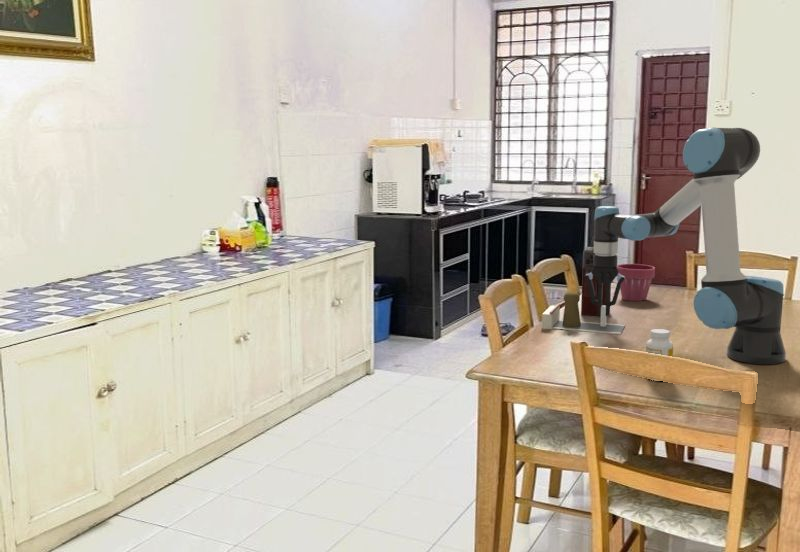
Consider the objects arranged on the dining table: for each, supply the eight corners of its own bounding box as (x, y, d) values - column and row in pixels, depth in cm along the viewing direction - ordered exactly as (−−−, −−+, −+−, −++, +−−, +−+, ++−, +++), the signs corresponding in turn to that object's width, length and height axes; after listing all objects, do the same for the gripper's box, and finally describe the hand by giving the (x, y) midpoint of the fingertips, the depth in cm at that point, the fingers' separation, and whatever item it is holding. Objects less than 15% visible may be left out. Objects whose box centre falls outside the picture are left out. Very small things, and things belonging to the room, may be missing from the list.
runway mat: (620, 334, 251) (620, 333, 251) (551, 328, 260) (551, 327, 260) (625, 326, 262) (625, 325, 262) (558, 320, 271) (558, 319, 271)
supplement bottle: (666, 374, 209) (668, 327, 207) (675, 382, 203) (678, 333, 200) (641, 375, 209) (643, 328, 207) (649, 383, 202) (652, 334, 200)
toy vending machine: (580, 317, 276) (582, 237, 271) (584, 310, 286) (586, 233, 281) (606, 318, 273) (609, 238, 268) (609, 311, 283) (612, 234, 278)
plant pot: (657, 297, 307) (659, 265, 305) (648, 304, 295) (649, 270, 293) (621, 294, 315) (622, 262, 312) (610, 300, 303) (611, 267, 301)
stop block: (551, 329, 259) (551, 312, 258) (541, 328, 260) (542, 311, 259) (559, 320, 272) (559, 303, 271) (550, 319, 273) (551, 303, 272)
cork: (560, 326, 262) (560, 293, 260) (564, 322, 267) (565, 290, 265) (578, 327, 259) (578, 295, 257) (582, 323, 264) (583, 291, 262)
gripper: (627, 253, 256) (625, 324, 260) (586, 251, 261) (585, 321, 265) (624, 256, 249) (622, 329, 253) (583, 255, 254) (581, 326, 258)
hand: (603, 325), depth 259 cm, fingers closed
